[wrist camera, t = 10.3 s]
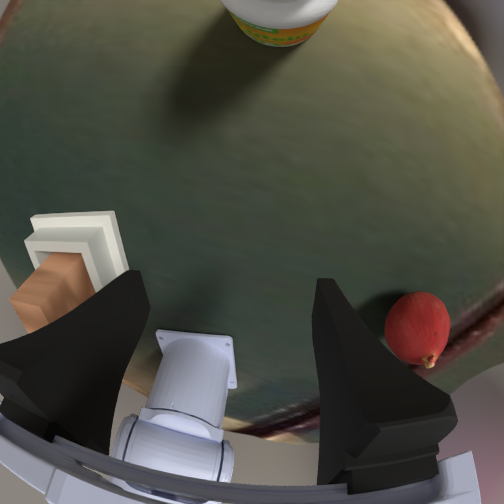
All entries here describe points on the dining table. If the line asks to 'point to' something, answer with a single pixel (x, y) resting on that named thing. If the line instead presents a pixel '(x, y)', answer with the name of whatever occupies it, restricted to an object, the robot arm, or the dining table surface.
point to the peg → (52, 290)
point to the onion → (417, 328)
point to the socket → (80, 242)
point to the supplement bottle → (279, 19)
